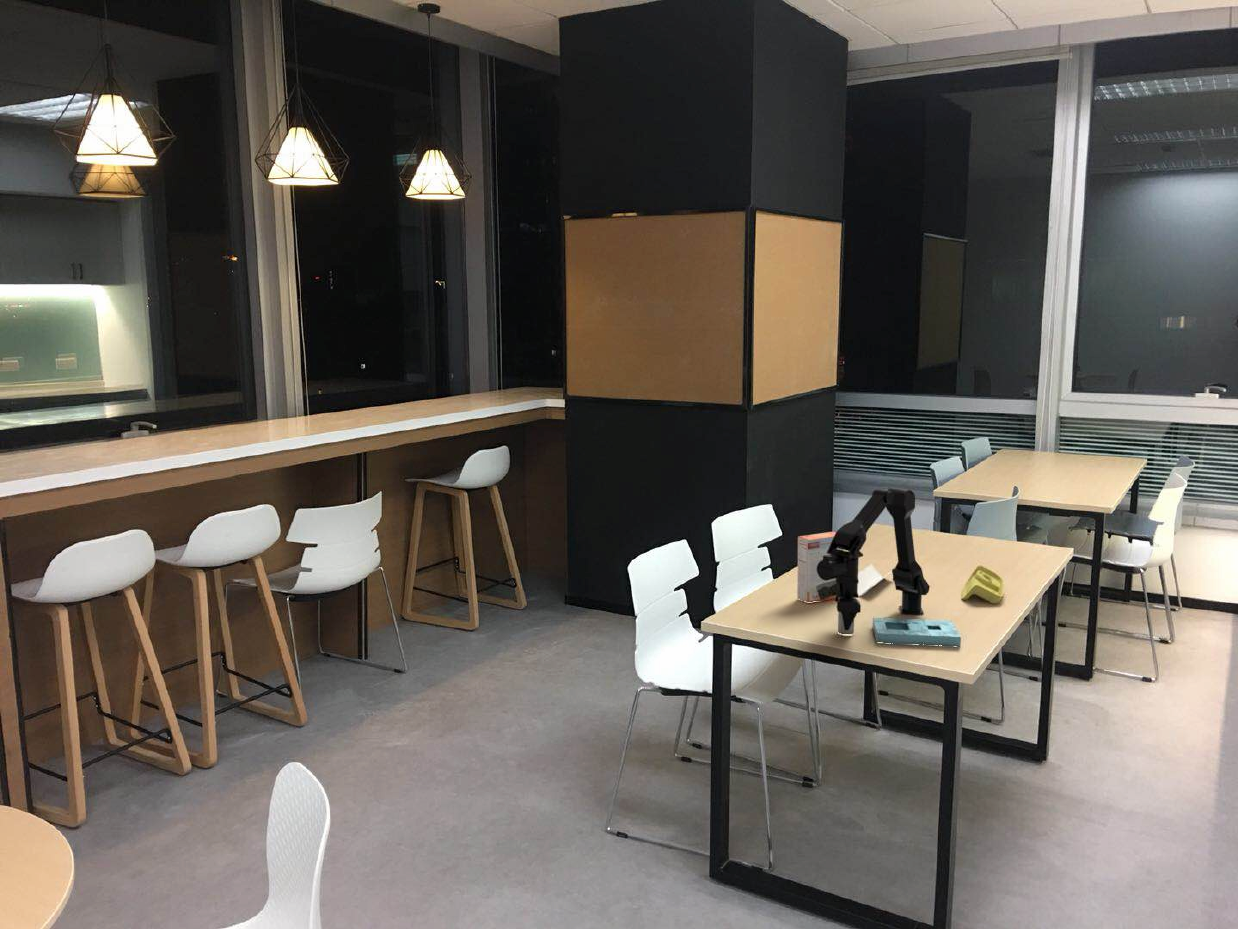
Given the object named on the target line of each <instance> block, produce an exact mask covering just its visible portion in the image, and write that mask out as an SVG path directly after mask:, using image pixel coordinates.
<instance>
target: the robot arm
mask: <svg viewBox="0 0 1238 929" xmlns="http://www.w3.org/2000/svg"><path fill="white" fill-rule="evenodd" d="M885 509H886V510H887V511H886V512H888V513H889V515H890V516H891V517H892V521H893V528H894V535H895V536H894V537H895V539H894V540H895V546H896V554H897V556H896V557H897V563H896V565H895V567H894V568H892V572H891V573H892V581H893V582H894V587H895V591H900V592H902V593H901V605H899V606H898V607H899V611H900V614H903V613H904V615H905V614H906V615H907V614H908V615H924V610H923V609H922V598H923V597H922V596H927V594H929V591H930V587H931V586H930V585H929V584H928V581H926V578H924V573H923V568H922V567H921V566H920V564H919V562H917V561H916V556H915V555H916V554H915V546H914V545H915V544H914V536H913V535H914V534H913V526H912V518H911V517H912V514H913V512H914V511H915V509H916V495H915V492H914V491H912V490H911V489H905V488H899V487H893V486H891V487H889V488H888V489H881V488H876V489H874V490H873V491H872V495H871V497H870V498H869V499H868V501H867V502H866V503H865V504H864V506H863V507H862V508H861V509H860V511H859V512H858V513H857V514H856V516H855V517H854V519H852V520H851V521H850V522H847V523H845V524H843V525H842V526H841V527H840V528H839V529H837V531H836V534H835V536H834V538H833V540H832V542H831V544H830V546H829V549H828V551H827V554H831V555H824V556H823V560H821V561H820V562H819V563H818V565H817V573H818V575H819V577H820V578H821V579H823V580H825V581H828V580H831V579H834V578H835V580H834V581H830V582H826V583H823V584H820V585H817V586H816V589H817V592H818V595H819V598H820V600H824V599H825V598H828V597H831V596H834V595H836V597H835V599H834V600H835V602H836V610H837V611H836V612H841V613H842V617H843V623H844V629H845V630H849V628H850V626H851V624H852V622H853V620H854V621H855V618H856V617H857V614H859V613H861V611H862V610H861V608H862V606H861V602H860V601H859V600H858V599H859V597H858V583H859V580H858V573H859V558H862V557H864V553H862V552H861V550H862V548H863V547H864V544H865V543H866V541H867V533H868V531H869V530H870V529H871V527H872V526H873V524H874V523H875V522H876V521H877V520H878V518H879V517H880V516H881V514H882V513H883V511H884V510H885ZM837 548H839V549H843V550H844V551H843V550H838V549H837Z"/></svg>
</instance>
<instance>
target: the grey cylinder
mask: <svg viewBox="0 0 1238 929" xmlns="http://www.w3.org/2000/svg"><path fill="white" fill-rule="evenodd" d="M837 612H838V611H837ZM837 614H838V615H837V616H838V617H837V620H838V621H837V633H838V632H839V633H841V634H853V633H854V634H855V632H854V631H855V619H854V620H853V622H852V624H851V626H850V628H849V630H845V629H844V623H843V617H842V613H841V612H838V613H837Z"/></svg>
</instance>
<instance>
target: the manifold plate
mask: <svg viewBox="0 0 1238 929" xmlns="http://www.w3.org/2000/svg"><path fill="white" fill-rule="evenodd" d="M873 629H874V631H873V633H874V632H875V634H874V637H875V636H876V638H875V640H876V639H877V641H876V643H877V642H883V643H891V644H890V645H893V644H919V645H923V644H924V645H938V646H939V645H942V646H957V647H956V648H958V647H960V648H961V641H962V636H961V635H960V633H959V631H958V629H957V627H956V625H955V624H954V622H953V620H947V619H946V620H945V619H944V620H943V619H940V620H939V619H938V620H937V619H922V618H921V619H920V618H919V619H917V618H894V617H876V616H875V617H872V630H873ZM892 643H893V644H892Z"/></svg>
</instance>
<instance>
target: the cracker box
mask: <svg viewBox="0 0 1238 929" xmlns="http://www.w3.org/2000/svg"><path fill="white" fill-rule="evenodd" d="M836 532H837V531H836ZM836 532H835V531H828V532H821V533H814V534H807V535H800V536H797V592H796V593H797V598H798V599H800V600H802V601H806V602H813V601H822V602H825V600H827V601H831V599H833V600H835V597H836V595H834V596H831V597H828V598H825V599H824V600H820V598H819V595H818V592H817V589H816V586H817V585H820V584H823V583H826V582H830V581H834V580H835V578H834V579H831V580H828V581H825V580H823V579H821V578H820V577H819V575H818V573H817V565H818V563H819V562H820V561H821V560H823V556H824V555H831V554H827V551H828V549H829V546H830V544H831V542H832V540H833V538H834V536H835V534H836ZM837 549H838V550H843V549H839V548H837ZM843 551H845V550H843ZM798 599H797V600H798ZM800 600H799V601H800ZM802 601H801V602H802Z"/></svg>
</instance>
